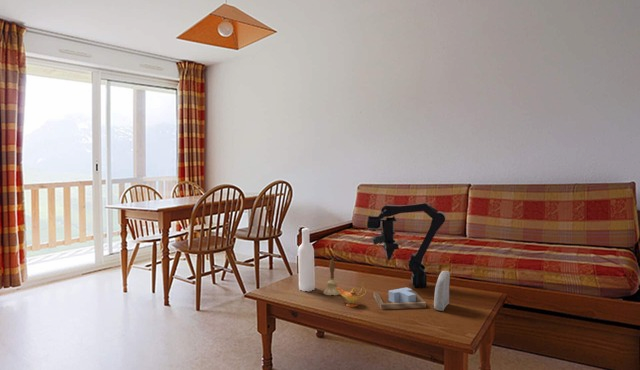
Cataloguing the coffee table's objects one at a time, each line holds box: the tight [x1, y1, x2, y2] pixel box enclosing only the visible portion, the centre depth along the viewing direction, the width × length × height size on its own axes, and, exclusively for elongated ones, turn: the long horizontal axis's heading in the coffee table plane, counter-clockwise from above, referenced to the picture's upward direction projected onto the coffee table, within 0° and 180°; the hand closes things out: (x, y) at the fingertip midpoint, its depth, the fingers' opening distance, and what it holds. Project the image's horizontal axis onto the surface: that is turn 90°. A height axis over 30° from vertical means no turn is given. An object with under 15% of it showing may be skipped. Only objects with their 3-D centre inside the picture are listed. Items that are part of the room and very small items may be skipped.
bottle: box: [297, 227, 316, 292], centre depth 188 cm, size 8×8×30 cm
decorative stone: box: [433, 270, 451, 312], centre depth 160 cm, size 11×6×15 cm, turn 151°
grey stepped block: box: [388, 287, 417, 303], centre depth 167 cm, size 10×10×4 cm
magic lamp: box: [332, 281, 367, 308], centre depth 166 cm, size 7×18×11 cm, turn 50°
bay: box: [373, 290, 427, 310], centre depth 167 cm, size 19×16×2 cm
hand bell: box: [323, 259, 341, 296], centre depth 182 cm, size 8×8×16 cm
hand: (388, 260), depth 195 cm, fingers closed
